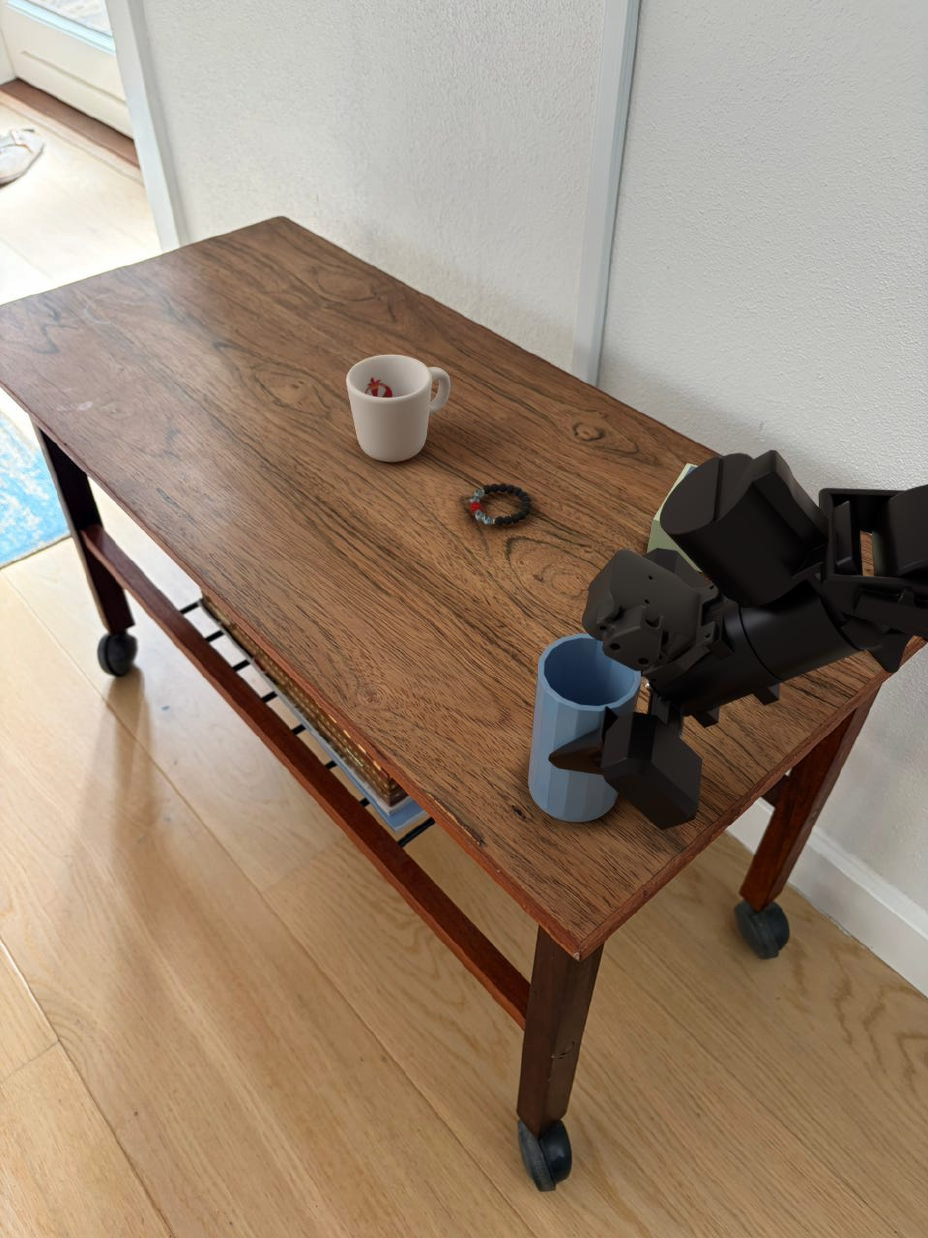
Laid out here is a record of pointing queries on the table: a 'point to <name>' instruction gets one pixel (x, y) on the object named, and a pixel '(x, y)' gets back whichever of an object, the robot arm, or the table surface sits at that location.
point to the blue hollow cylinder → (575, 723)
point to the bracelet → (507, 520)
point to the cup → (394, 404)
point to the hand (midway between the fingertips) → (560, 721)
